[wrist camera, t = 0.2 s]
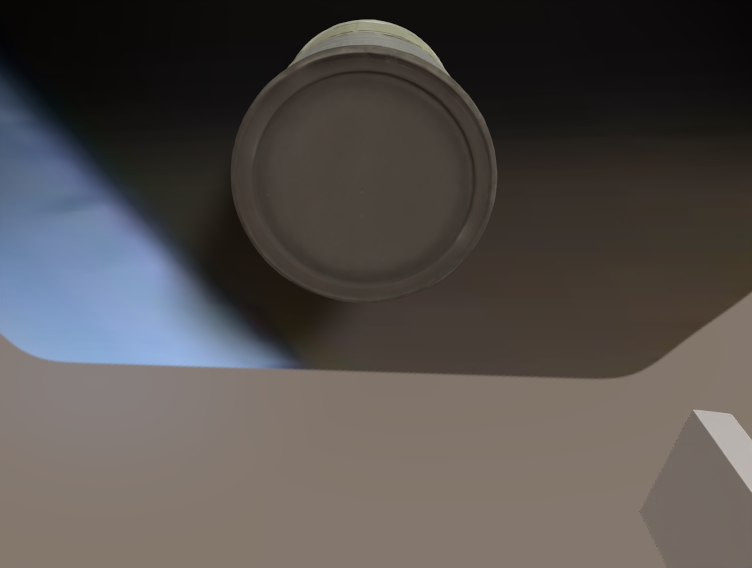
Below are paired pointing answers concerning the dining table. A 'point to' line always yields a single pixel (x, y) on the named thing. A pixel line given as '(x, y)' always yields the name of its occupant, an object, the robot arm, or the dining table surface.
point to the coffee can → (364, 167)
